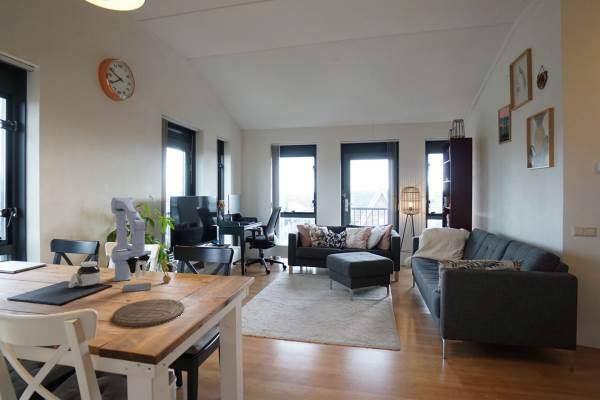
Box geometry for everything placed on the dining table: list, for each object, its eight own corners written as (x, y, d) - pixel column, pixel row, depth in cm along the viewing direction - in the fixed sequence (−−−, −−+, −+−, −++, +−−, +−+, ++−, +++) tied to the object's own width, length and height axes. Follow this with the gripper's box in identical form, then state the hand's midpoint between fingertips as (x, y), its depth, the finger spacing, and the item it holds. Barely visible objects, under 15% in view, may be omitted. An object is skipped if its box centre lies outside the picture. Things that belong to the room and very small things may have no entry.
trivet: (131, 303, 134) (131, 298, 134) (191, 303, 136) (191, 299, 135) (98, 328, 109) (98, 322, 109) (171, 328, 111) (171, 322, 111)
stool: (129, 276, 152) (129, 261, 152) (138, 273, 157) (138, 260, 157) (137, 277, 151) (137, 263, 151) (146, 275, 156) (146, 261, 155)
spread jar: (102, 285, 157) (103, 262, 156) (78, 291, 146) (79, 266, 146) (87, 282, 162) (88, 259, 161) (63, 287, 151) (64, 263, 151)
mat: (124, 285, 157) (124, 284, 157) (151, 283, 162) (151, 282, 162) (122, 292, 146) (122, 291, 146) (150, 290, 151) (150, 289, 151)
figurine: (162, 284, 160) (162, 261, 160) (154, 283, 163) (155, 260, 163) (176, 281, 167) (176, 258, 167) (169, 279, 170) (169, 257, 170)
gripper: (131, 246, 146) (131, 275, 146) (155, 242, 159) (155, 269, 159) (120, 245, 148) (120, 274, 148) (145, 241, 162) (144, 267, 162)
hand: (137, 271), depth 154 cm, fingers closed on stool, 5 cm apart
